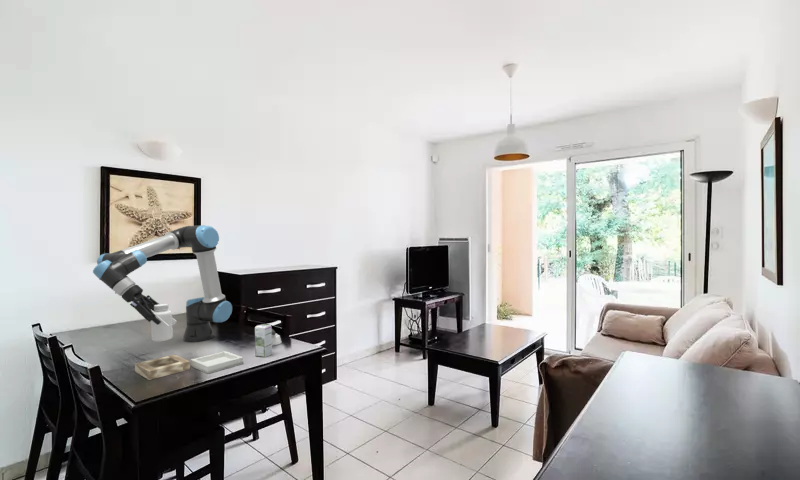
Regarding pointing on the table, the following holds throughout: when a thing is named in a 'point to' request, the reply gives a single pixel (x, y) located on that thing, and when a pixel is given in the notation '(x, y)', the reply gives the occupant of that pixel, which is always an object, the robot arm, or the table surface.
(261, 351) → the syrup box
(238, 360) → the tray
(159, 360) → the holder
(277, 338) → the inkwell
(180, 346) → the table surface
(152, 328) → the pill bottle
